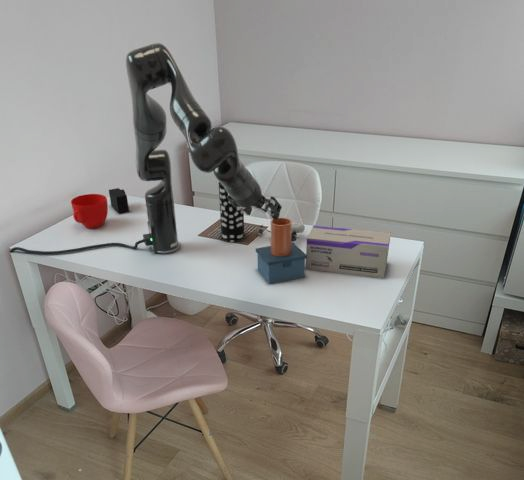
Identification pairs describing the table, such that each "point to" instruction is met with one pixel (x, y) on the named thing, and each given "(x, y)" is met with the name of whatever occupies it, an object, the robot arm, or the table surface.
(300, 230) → the clip-on lamp
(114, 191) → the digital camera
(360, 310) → the table surface
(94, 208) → the ceramic cup
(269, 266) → the storage box
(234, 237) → the white-spotted black cylinder
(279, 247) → the tumbler
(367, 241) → the surgical sutures box
